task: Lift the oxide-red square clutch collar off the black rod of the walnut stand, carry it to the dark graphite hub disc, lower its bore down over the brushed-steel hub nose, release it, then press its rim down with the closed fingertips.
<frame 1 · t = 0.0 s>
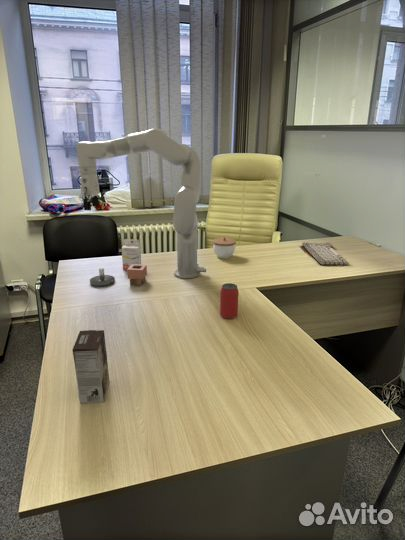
hand: (91, 208, 174), 31 cm above the table, fingers open, 9 cm apart
stand: (137, 282, 170), on the table
collar: (137, 276, 169), point 3 cm above the table, touching stand
lidded bowl: (224, 256, 206), on the table
beer can: (228, 316, 139), on the table
ink cartridge box: (132, 268, 188), on the table
hub: (102, 282, 170), on the table
coffee box: (95, 392, 98), on the table
mechanical keyboard: (323, 256, 210), on the table
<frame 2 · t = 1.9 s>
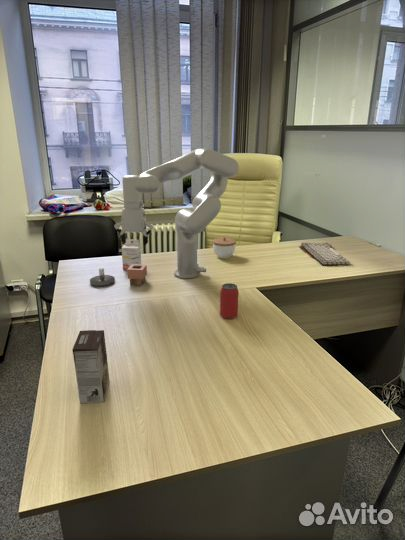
hand: (134, 244, 163), 18 cm above the table, fingers open, 9 cm apart
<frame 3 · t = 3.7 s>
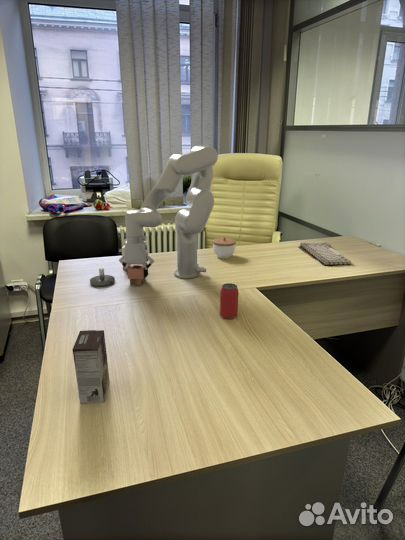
hand: (137, 276, 169), 3 cm above the table, fingers closed on collar, 7 cm apart
collar: (137, 276, 169), point 3 cm above the table, touching gripper, stand
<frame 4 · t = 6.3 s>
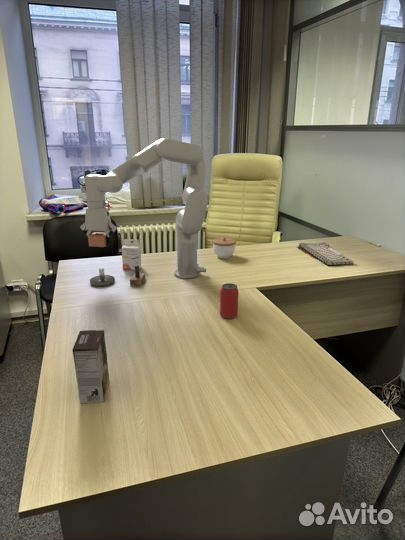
hand: (99, 244, 163), 18 cm above the table, fingers closed on collar, 7 cm apart
collar: (99, 244, 163), point 18 cm above the table, touching gripper
when the fingers open (3 cm above the table, at t = 9.2 s): collar drops 1 cm, resting on hub.
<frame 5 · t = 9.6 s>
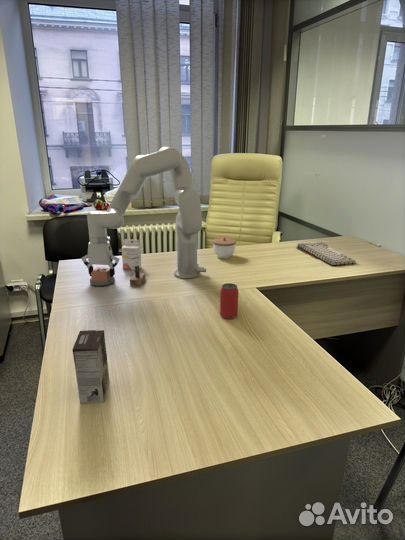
hand: (102, 275, 169), 3 cm above the table, fingers open, 9 cm apart
collar: (102, 279, 169), point 2 cm above the table, touching hub
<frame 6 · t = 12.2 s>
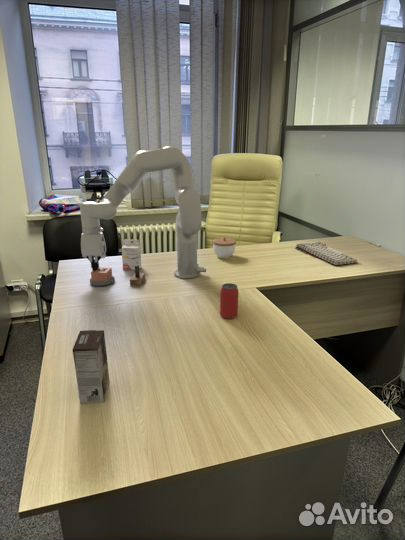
hand: (95, 269, 168), 6 cm above the table, fingers closed
collar: (102, 279, 169), point 2 cm above the table, touching gripper, hub
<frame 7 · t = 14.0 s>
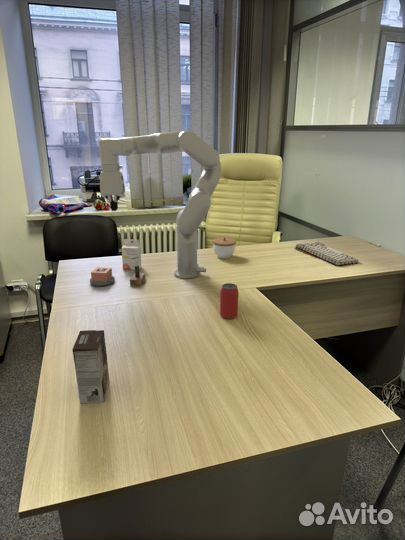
hand: (114, 210, 166), 32 cm above the table, fingers closed
collar: (102, 279, 169), point 2 cm above the table, touching hub
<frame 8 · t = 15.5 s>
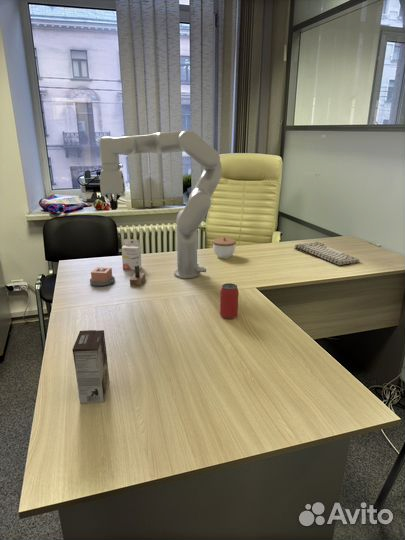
hand: (114, 209, 166), 32 cm above the table, fingers closed
at the end: collar 0.0 cm off-centre on the hub, point 1.6 cm above the hub's base; collar tilted 0°; the gripper is holding nothing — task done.
